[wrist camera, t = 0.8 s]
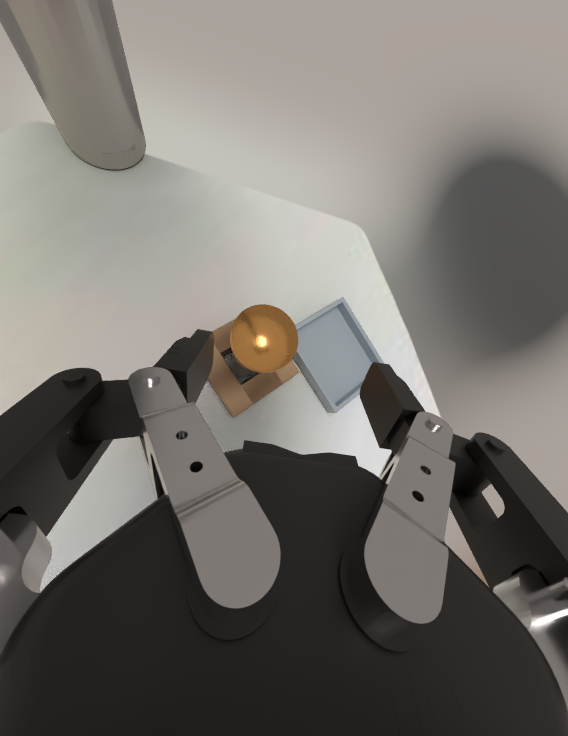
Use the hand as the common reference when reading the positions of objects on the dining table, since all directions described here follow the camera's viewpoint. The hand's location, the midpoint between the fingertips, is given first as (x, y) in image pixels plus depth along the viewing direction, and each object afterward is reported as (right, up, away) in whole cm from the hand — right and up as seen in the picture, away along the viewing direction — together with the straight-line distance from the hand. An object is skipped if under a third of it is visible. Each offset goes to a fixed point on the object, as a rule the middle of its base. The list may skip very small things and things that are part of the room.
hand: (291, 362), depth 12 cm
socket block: (-6, 0, +20) cm, 21 cm away
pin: (-6, 0, +20) cm, 21 cm away
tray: (+7, +2, +25) cm, 26 cm away
